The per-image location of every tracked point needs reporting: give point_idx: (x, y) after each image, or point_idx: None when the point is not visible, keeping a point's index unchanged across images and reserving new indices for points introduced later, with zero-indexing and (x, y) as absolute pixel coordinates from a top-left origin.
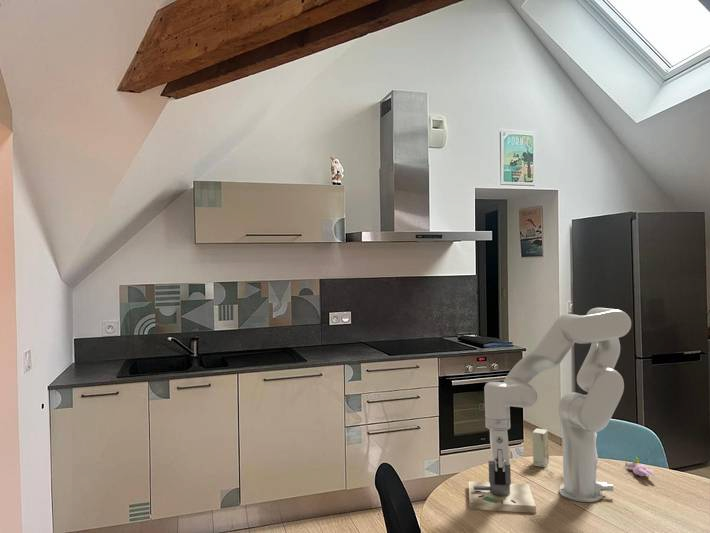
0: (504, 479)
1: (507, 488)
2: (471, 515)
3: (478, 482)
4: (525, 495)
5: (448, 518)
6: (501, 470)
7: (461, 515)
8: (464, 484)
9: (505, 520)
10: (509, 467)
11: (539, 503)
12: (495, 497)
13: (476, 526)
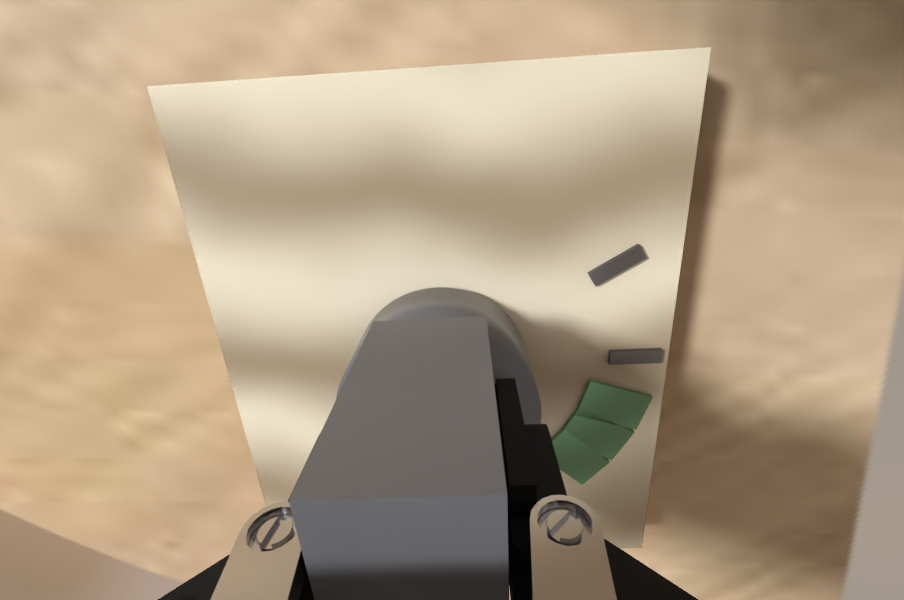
0: (522, 418)
1: (507, 336)
2: (713, 501)
3: (279, 500)
4: (460, 142)
5: (747, 595)
6: (629, 572)
7: (711, 545)
8: None
9: (800, 315)
10: (500, 468)
11: (465, 2)
12: (540, 397)
13: (864, 477)
